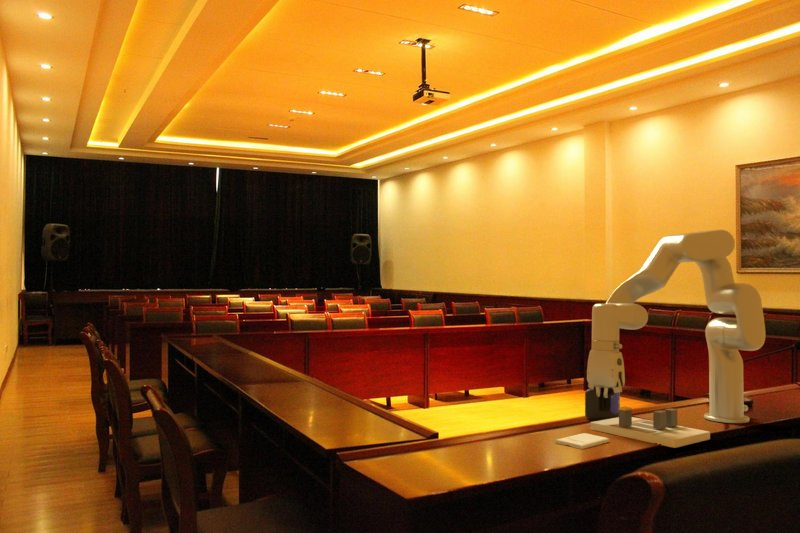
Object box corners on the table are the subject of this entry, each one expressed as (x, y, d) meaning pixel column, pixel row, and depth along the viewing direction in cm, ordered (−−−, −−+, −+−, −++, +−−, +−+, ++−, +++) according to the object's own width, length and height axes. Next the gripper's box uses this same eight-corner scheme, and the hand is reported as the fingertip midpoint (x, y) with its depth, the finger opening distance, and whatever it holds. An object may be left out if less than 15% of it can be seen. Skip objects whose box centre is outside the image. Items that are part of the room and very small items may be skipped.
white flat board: (626, 422, 196) (626, 415, 196) (710, 439, 175) (710, 431, 175) (590, 429, 186) (590, 422, 186) (674, 447, 165) (674, 439, 165)
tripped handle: (625, 424, 181) (625, 406, 182) (631, 425, 180) (631, 407, 180) (618, 425, 180) (618, 407, 180) (625, 427, 178) (625, 408, 178)
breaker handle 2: (670, 424, 182) (670, 408, 182) (677, 425, 181) (677, 409, 181) (664, 425, 180) (664, 409, 181) (671, 426, 179) (671, 410, 179)
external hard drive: (609, 444, 170) (581, 451, 163) (582, 438, 177) (554, 445, 169) (609, 438, 171) (581, 444, 163) (582, 432, 177) (554, 438, 169)
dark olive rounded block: (596, 422, 196) (596, 390, 197) (583, 419, 200) (583, 388, 200) (627, 416, 206) (627, 386, 206) (615, 413, 210) (615, 384, 210)
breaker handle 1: (659, 426, 179) (659, 410, 179) (666, 428, 177) (666, 411, 178) (653, 428, 177) (653, 411, 177) (660, 429, 176) (659, 412, 176)
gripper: (636, 348, 182) (635, 414, 181) (592, 344, 194) (591, 405, 193) (619, 349, 177) (619, 416, 177) (575, 344, 189) (574, 408, 189)
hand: (604, 410), depth 185 cm, fingers closed
